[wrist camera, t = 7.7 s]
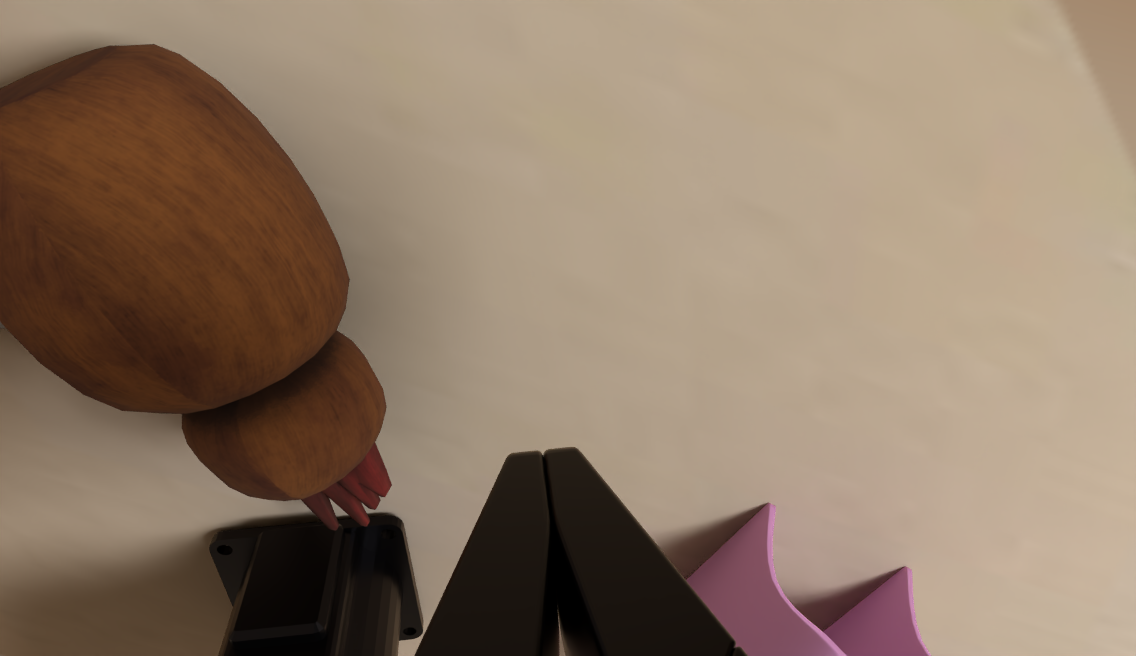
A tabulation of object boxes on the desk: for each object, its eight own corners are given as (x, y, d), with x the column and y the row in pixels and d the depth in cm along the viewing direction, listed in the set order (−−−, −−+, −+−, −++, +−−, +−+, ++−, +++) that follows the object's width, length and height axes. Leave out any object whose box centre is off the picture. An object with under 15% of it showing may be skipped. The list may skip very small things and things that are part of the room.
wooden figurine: (-25, 83, 17) (303, 487, 26) (-218, 201, 13) (260, 642, 22) (238, -14, 16) (485, 439, 25) (132, 76, 12) (479, 589, 21)
